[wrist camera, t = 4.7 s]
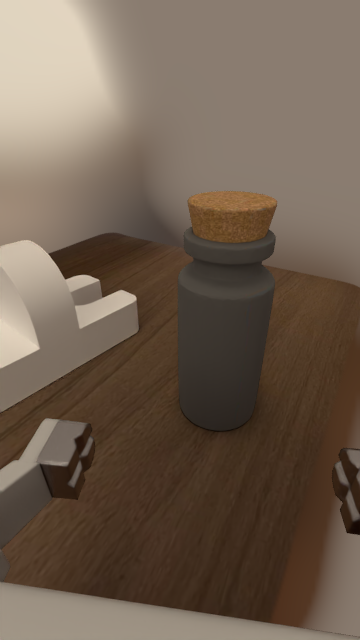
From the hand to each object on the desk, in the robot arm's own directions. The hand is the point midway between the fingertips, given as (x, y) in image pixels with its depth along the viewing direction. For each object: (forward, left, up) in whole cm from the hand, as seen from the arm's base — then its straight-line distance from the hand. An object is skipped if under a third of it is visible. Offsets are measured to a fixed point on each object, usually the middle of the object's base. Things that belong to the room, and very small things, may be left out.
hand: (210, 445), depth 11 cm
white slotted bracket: (+18, +14, -10) cm, 25 cm away
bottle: (+11, -2, -10) cm, 15 cm away
